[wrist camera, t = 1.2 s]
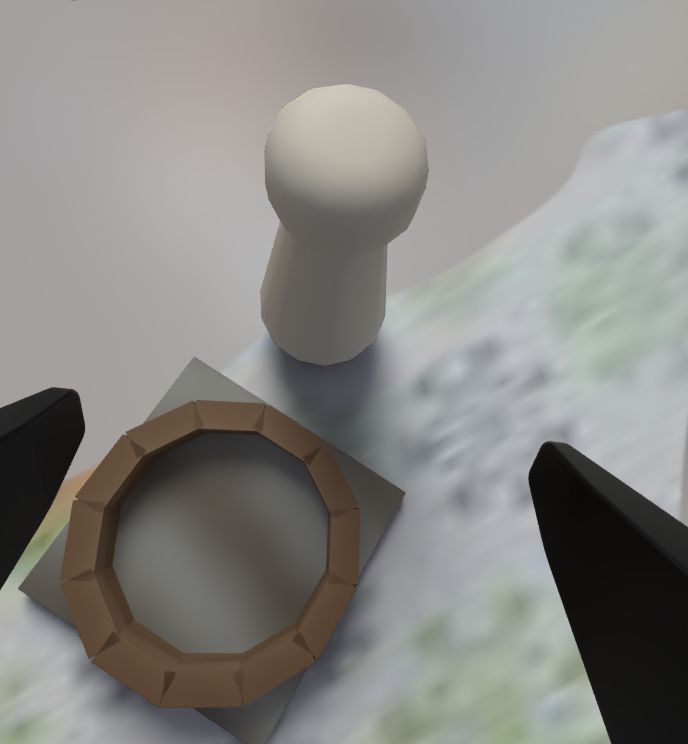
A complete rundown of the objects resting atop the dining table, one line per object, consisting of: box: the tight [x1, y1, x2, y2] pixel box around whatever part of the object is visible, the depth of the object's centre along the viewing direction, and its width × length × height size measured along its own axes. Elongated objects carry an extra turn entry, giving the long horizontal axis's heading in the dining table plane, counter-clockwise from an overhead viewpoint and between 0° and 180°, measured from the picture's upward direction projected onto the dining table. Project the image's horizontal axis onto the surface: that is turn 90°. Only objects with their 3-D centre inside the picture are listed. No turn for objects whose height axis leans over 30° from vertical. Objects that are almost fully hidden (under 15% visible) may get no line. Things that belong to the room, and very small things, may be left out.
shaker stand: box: [18, 357, 406, 744], centre depth 19 cm, size 12×12×3 cm
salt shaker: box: [260, 84, 429, 366], centre depth 17 cm, size 6×6×13 cm
